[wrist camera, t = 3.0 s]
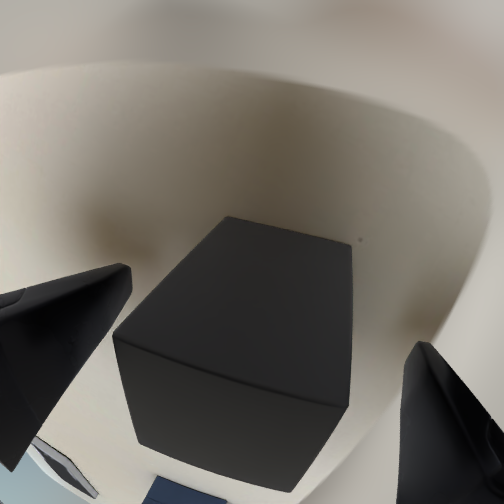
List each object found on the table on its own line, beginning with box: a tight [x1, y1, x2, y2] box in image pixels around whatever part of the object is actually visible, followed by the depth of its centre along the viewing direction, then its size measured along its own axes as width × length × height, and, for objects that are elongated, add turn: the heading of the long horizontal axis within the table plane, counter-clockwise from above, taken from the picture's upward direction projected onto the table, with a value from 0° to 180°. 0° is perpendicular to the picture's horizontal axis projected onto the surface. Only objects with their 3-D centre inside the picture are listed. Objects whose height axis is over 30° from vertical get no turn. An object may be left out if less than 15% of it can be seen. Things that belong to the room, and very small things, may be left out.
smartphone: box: [31, 436, 98, 499], centre depth 34 cm, size 8×1×15 cm
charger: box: [112, 217, 353, 493], centre depth 8 cm, size 4×4×6 cm
